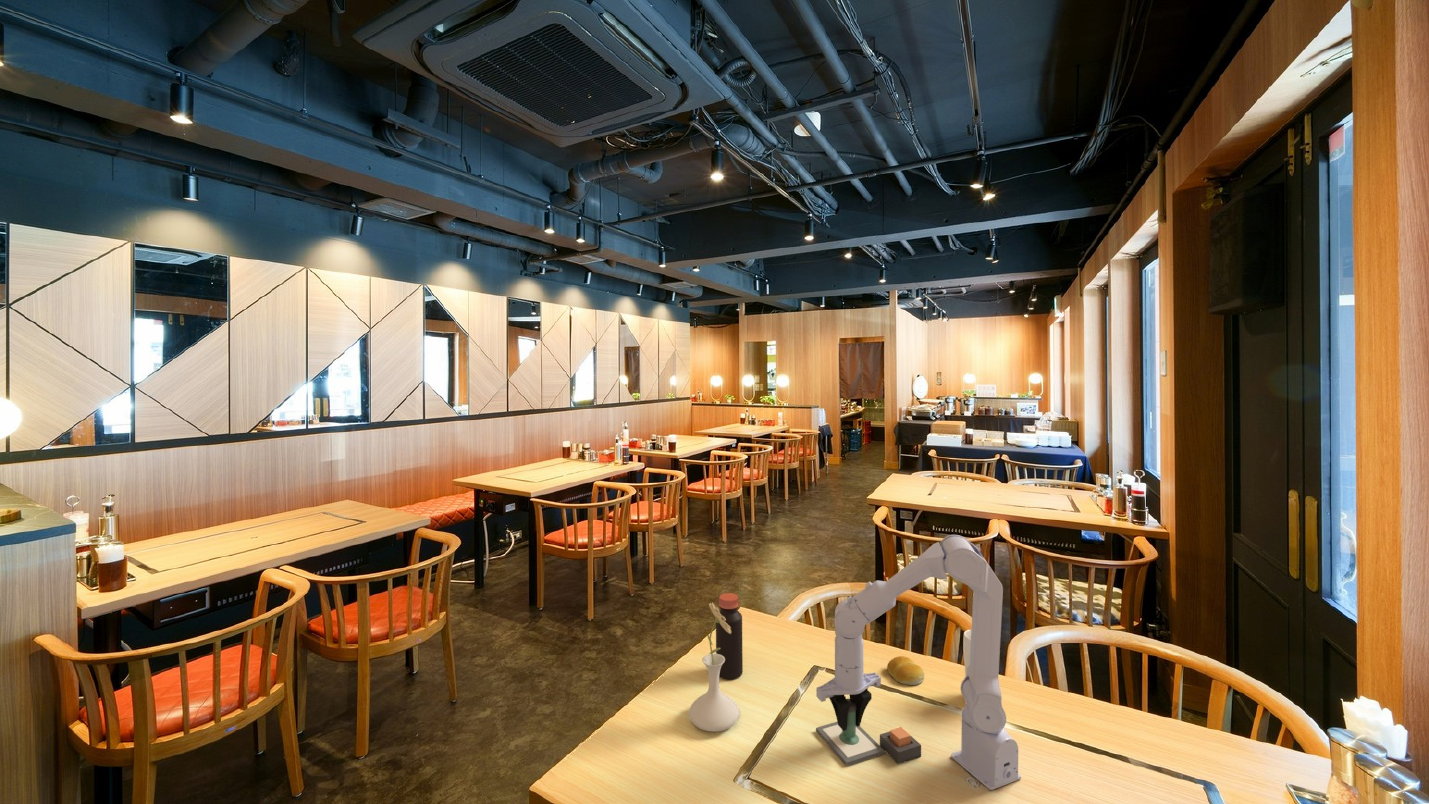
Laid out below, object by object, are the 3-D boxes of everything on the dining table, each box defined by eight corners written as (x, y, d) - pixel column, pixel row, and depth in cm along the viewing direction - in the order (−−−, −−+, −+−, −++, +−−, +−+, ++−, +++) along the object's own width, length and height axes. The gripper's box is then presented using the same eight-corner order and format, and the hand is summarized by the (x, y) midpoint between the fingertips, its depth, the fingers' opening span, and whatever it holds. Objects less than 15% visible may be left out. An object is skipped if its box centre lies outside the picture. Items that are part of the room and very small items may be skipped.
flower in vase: (741, 737, 110) (740, 621, 109) (687, 738, 110) (685, 622, 109) (738, 699, 123) (737, 595, 122) (690, 700, 123) (688, 596, 122)
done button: (910, 744, 105) (910, 735, 105) (899, 748, 104) (899, 739, 104) (900, 735, 107) (900, 727, 107) (889, 739, 106) (889, 730, 106)
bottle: (712, 678, 132) (712, 600, 131) (720, 664, 139) (719, 590, 138) (739, 682, 130) (738, 603, 129) (745, 668, 137) (744, 593, 136)
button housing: (921, 756, 104) (921, 745, 104) (898, 764, 102) (898, 752, 102) (901, 738, 109) (901, 727, 109) (879, 745, 107) (879, 734, 107)
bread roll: (903, 689, 127) (903, 673, 127) (882, 669, 136) (882, 654, 136) (932, 683, 129) (932, 668, 129) (909, 664, 138) (909, 650, 138)
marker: (859, 736, 108) (859, 705, 107) (847, 740, 106) (847, 709, 106) (850, 727, 110) (850, 697, 110) (838, 730, 109) (838, 700, 109)
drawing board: (884, 754, 105) (884, 749, 105) (846, 766, 102) (846, 762, 102) (851, 721, 115) (851, 716, 115) (815, 731, 112) (815, 727, 112)
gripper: (865, 645, 114) (865, 706, 115) (808, 658, 109) (808, 722, 109) (887, 661, 107) (887, 725, 108) (827, 676, 102) (827, 744, 103)
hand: (849, 725), depth 108 cm, fingers closed on marker, 3 cm apart
